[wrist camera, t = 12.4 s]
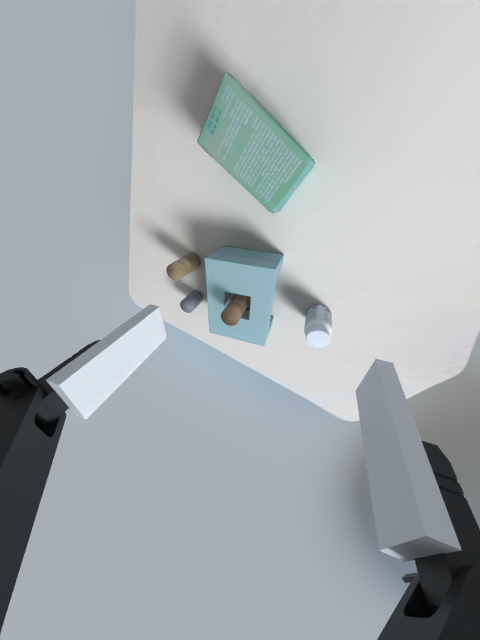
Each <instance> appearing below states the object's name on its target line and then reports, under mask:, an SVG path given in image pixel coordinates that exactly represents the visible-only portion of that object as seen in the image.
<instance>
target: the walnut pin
mask: <svg viewBox="0 0 480 640" xmlns="http://www.w3.org/2000/svg"><path fill="white" fill-rule="evenodd" d="M250 301H251V297H249V296H244V295H240V294H235V296H234V297H233V298H232V300H231V301H230V302H229V304H228V305H227V306H226V307H225V309H224V310H223V311H222V313H221V319H222V321H223V322H224V323H225V324H226V325H229V326H234V325H236V324H237V323H238V321H239V320H240V318H241V316H242V315H243V313H244V311H245V310H246V308H247V306H248V305H249V303H250Z"/></svg>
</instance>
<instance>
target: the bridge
mask: <svg viewBox="0 0 480 640" xmlns="http://www.w3.org/2000/svg"><path fill="white" fill-rule="evenodd" d="M283 256H284V254H278V253H271V252H264V251H257V250H250V249H243V248H236V247H229V246H222V247H221V248H219V249H218V250H216V251H215V252H213V253H212V254H210V255H209V256H207V257H206V258H205V271H206V286H207V302H208V318H209V332H211V333H214V334H218V335H222V336H226V337H230V338H234V339H238V340H241V341H245V342H249V343H253V344H257V345H261V346H264V345H265V343H266V340H267V337H268V334H269V331H270V329H271V326H272V322H273V317H272V316H271V311H272V305H273V298H274V292H275V286H276V279H277V274H278V272H279V270H280V268H281V266H282V262H283ZM230 293H235V294H240V295H244V296H249V297H251V304H250V311H247V310H245V311H244V313H243V315H242V316H241V318H240V320H239V321H238V323H237V324H236V325H234V326H229V325H226V324H225V323H224V322H223V321H222V319H221V313H222V311H223V310H224V309H225V307H226V306H227V305H228V304H229V302H230Z"/></svg>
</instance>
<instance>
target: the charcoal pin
mask: <svg viewBox="0 0 480 640" xmlns="http://www.w3.org/2000/svg"><path fill="white" fill-rule="evenodd" d="M202 301H203V295H202V294H201V293H200V292H199V291H193V292H192V293H190V294H189V295H188V296H187V297H186V298H185V299H183V300H182V301H181V303H180V306H181V308H182V310H183V311H185V312H187V313H190V312H192V311H193V310H194V309H195V308H196V307H197V306H198V305H199V304H200V303H201V302H202Z"/></svg>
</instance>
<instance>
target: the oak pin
mask: <svg viewBox="0 0 480 640" xmlns="http://www.w3.org/2000/svg"><path fill="white" fill-rule="evenodd" d="M199 265H200V258H199V257H198V255H197V254H195V253H190V254H188V255H186V256H184V257H183V258H181V259H179V260H177V261H175V262H174V263H172V264H170V265H168V266H167V269H166V270H167V274H168V276H169V277H170V278H171V279H172V280H175V281H178V280H180V279H181V278H183V277H184V276H186V275H187V274H188V273H190V272H191V271H193V270H194V269H196V268H197V267H198V266H199Z"/></svg>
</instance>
